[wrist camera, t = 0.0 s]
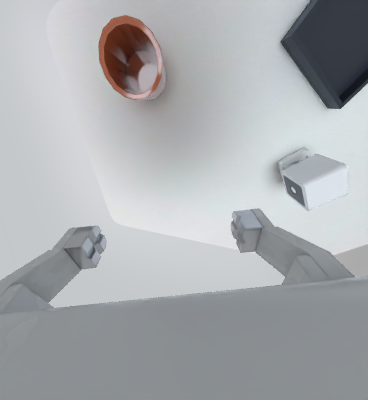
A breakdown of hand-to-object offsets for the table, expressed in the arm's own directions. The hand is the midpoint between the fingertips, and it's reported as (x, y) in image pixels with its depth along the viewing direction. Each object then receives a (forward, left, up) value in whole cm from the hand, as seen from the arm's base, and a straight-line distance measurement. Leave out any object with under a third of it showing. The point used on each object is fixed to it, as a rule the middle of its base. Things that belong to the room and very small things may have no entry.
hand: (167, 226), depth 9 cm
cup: (-6, -9, -23) cm, 25 cm away
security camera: (-10, +23, -23) cm, 34 cm away
